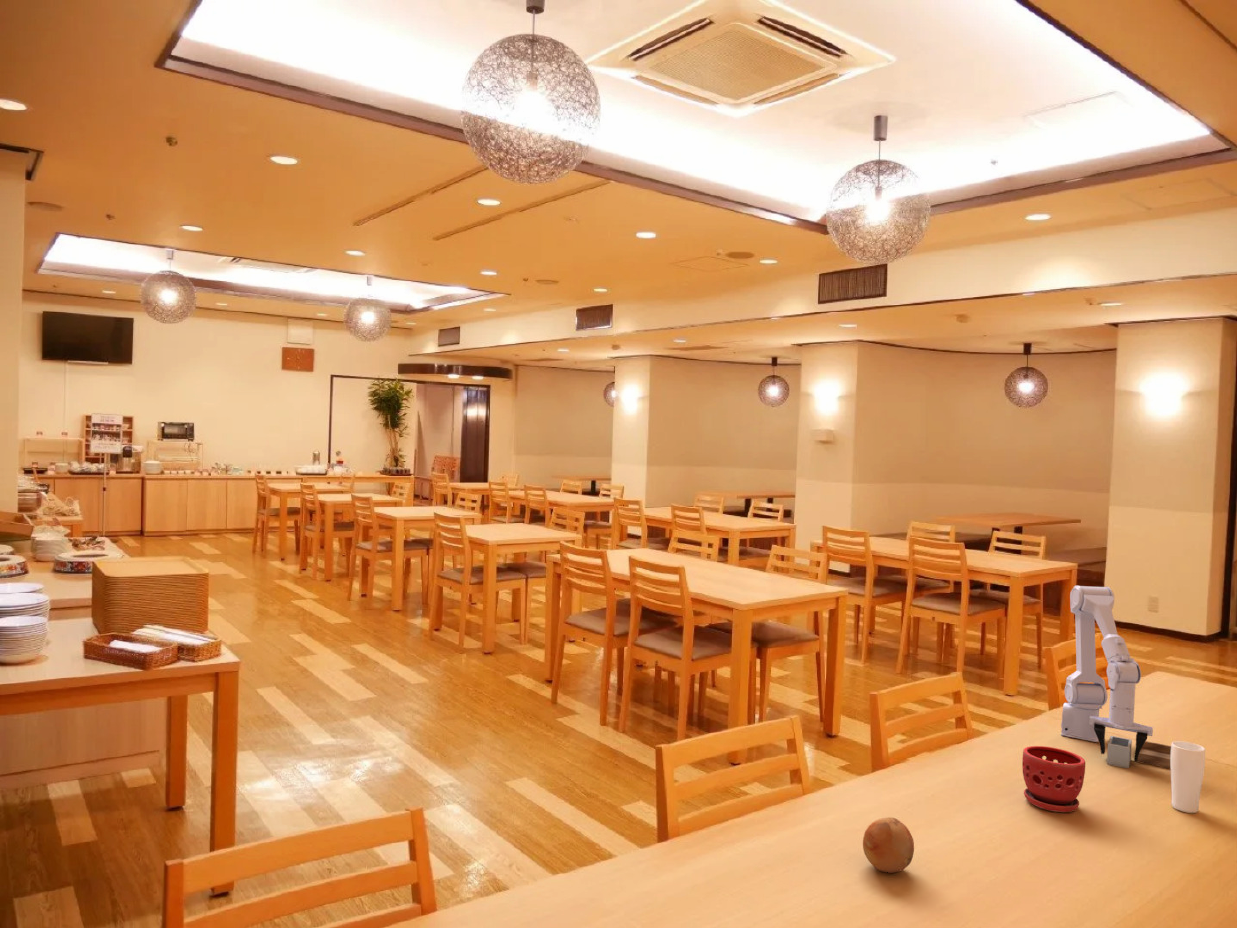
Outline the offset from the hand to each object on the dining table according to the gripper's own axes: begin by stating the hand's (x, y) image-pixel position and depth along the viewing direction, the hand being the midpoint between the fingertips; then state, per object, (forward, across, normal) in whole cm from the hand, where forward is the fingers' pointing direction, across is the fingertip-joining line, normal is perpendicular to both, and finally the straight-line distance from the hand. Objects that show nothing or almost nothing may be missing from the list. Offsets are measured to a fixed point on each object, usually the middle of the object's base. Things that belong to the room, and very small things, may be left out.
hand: (1119, 756), depth 230 cm
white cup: (+2, +15, -25) cm, 29 cm away
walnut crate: (+2, +8, +10) cm, 13 cm away
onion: (+2, -33, -97) cm, 102 cm away
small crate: (+2, 0, 0) cm, 2 cm away
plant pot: (+2, -11, -42) cm, 43 cm away
